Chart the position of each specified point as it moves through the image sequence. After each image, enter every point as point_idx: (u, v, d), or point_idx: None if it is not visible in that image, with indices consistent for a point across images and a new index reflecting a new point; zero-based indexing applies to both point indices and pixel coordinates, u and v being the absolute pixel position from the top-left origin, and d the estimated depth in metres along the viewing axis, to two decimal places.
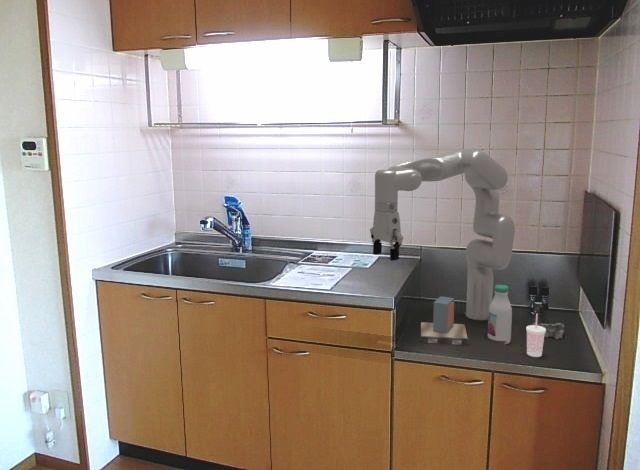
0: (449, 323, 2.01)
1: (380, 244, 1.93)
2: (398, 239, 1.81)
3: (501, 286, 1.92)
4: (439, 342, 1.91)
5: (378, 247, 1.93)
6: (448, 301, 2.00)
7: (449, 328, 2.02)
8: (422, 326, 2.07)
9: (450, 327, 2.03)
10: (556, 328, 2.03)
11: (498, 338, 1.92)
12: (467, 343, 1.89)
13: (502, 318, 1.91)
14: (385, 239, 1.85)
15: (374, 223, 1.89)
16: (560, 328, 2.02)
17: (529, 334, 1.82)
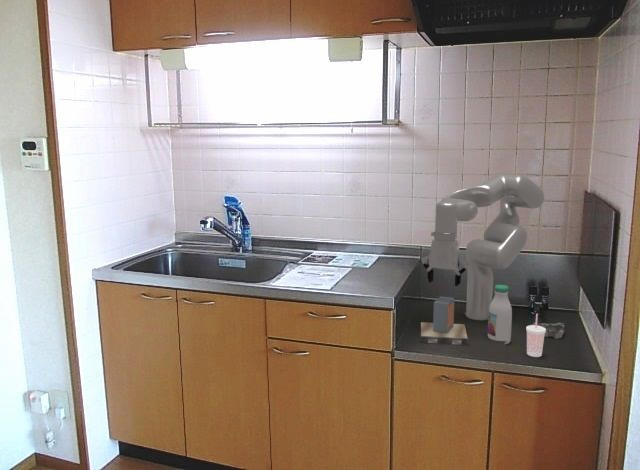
0: (449, 323, 2.01)
1: None
2: None
3: (501, 286, 1.92)
4: (439, 342, 1.91)
5: None
6: (448, 301, 2.00)
7: (449, 328, 2.02)
8: (422, 326, 2.07)
9: (450, 327, 2.03)
10: (556, 328, 2.03)
11: (498, 338, 1.92)
12: (467, 343, 1.89)
13: (502, 318, 1.91)
14: None
15: None
16: (560, 328, 2.02)
17: (529, 334, 1.82)
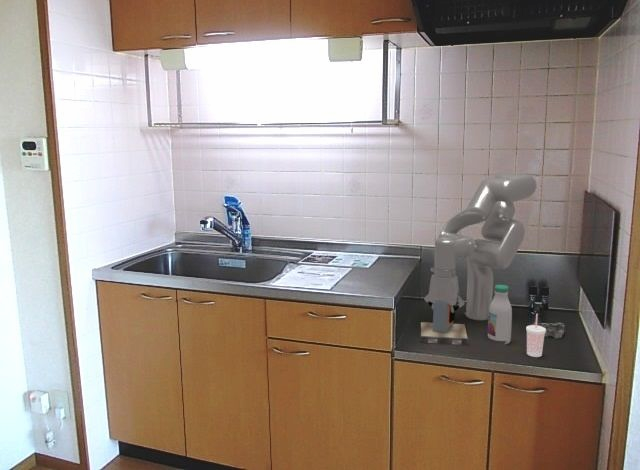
0: (449, 323, 2.01)
1: None
2: None
3: (501, 286, 1.92)
4: (439, 342, 1.91)
5: None
6: None
7: (449, 328, 2.02)
8: (422, 326, 2.07)
9: (450, 327, 2.03)
10: (557, 328, 2.03)
11: (498, 338, 1.92)
12: (467, 343, 1.89)
13: (502, 318, 1.91)
14: None
15: None
16: (561, 328, 2.02)
17: (529, 334, 1.82)
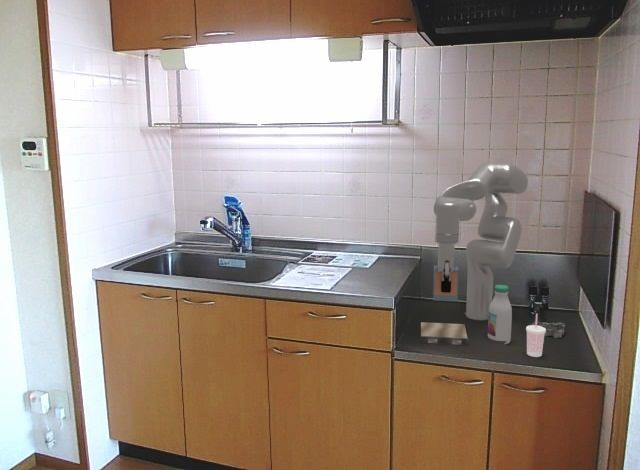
0: (441, 292, 1.90)
1: None
2: None
3: (501, 286, 1.92)
4: (439, 342, 1.91)
5: None
6: None
7: (443, 298, 1.90)
8: (422, 326, 2.07)
9: (447, 298, 1.90)
10: (557, 327, 2.03)
11: (498, 338, 1.92)
12: (467, 343, 1.89)
13: (502, 318, 1.91)
14: None
15: (453, 257, 1.86)
16: (561, 328, 2.03)
17: (529, 334, 1.82)
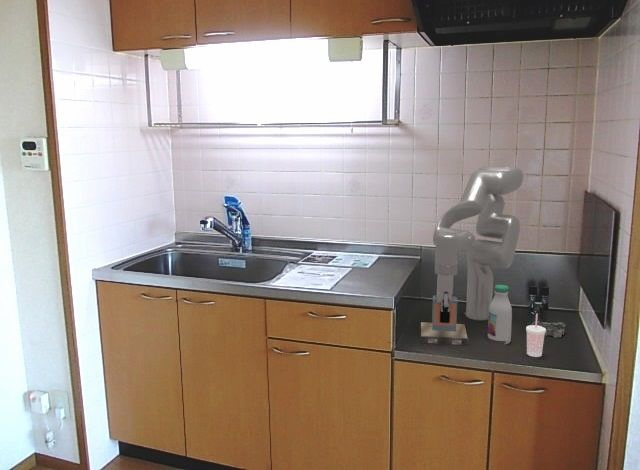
0: (440, 322, 1.92)
1: None
2: None
3: (501, 286, 1.92)
4: (439, 342, 1.91)
5: None
6: None
7: (442, 328, 1.92)
8: (422, 326, 2.07)
9: (446, 328, 1.92)
10: (557, 327, 2.03)
11: (498, 338, 1.92)
12: (467, 343, 1.89)
13: (502, 318, 1.91)
14: None
15: (452, 288, 1.88)
16: (561, 327, 2.03)
17: (529, 334, 1.82)
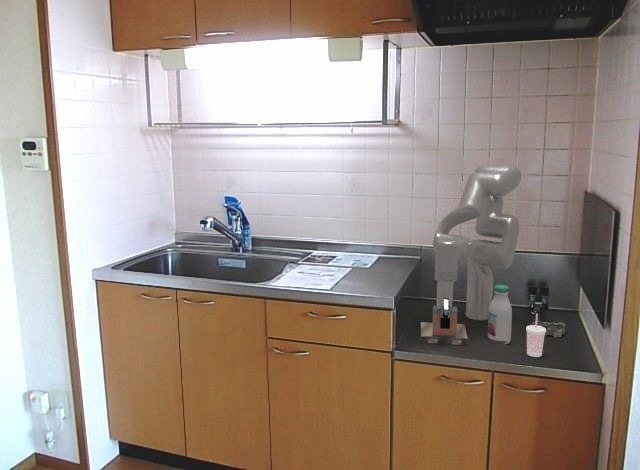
0: (440, 332, 1.93)
1: None
2: None
3: (501, 286, 1.92)
4: (439, 342, 1.91)
5: None
6: None
7: None
8: (422, 326, 2.07)
9: None
10: (558, 327, 2.03)
11: (498, 338, 1.92)
12: (467, 343, 1.89)
13: (502, 318, 1.91)
14: None
15: (452, 294, 1.88)
16: (562, 327, 2.03)
17: (529, 334, 1.82)
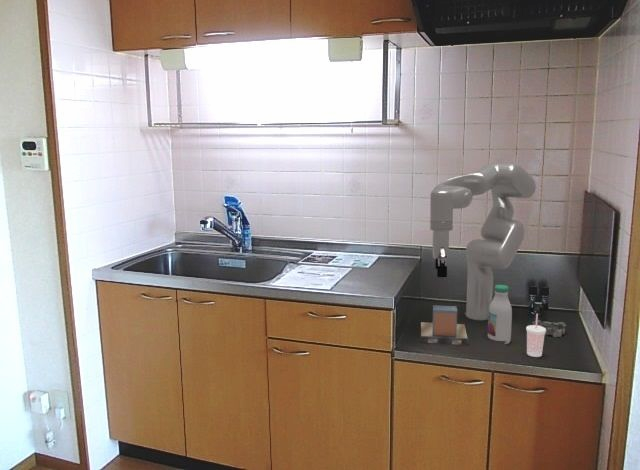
0: (440, 332, 1.93)
1: None
2: None
3: (501, 286, 1.92)
4: (439, 342, 1.91)
5: None
6: (443, 309, 1.92)
7: None
8: (422, 326, 2.07)
9: None
10: (558, 327, 2.04)
11: (498, 338, 1.92)
12: (467, 343, 1.89)
13: (502, 318, 1.91)
14: None
15: (448, 244, 1.90)
16: (562, 327, 2.03)
17: (529, 334, 1.82)
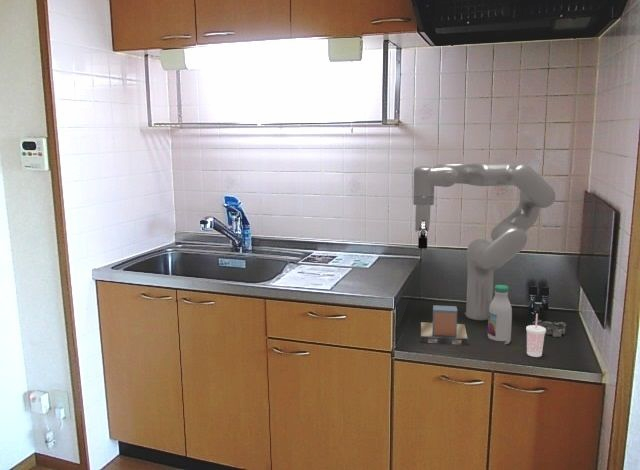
0: (440, 332, 1.93)
1: None
2: None
3: (501, 286, 1.92)
4: (439, 342, 1.91)
5: None
6: (443, 309, 1.92)
7: None
8: (422, 326, 2.07)
9: None
10: (559, 327, 2.04)
11: (498, 338, 1.92)
12: (467, 343, 1.89)
13: (502, 318, 1.91)
14: None
15: (429, 217, 2.03)
16: (562, 327, 2.03)
17: (529, 334, 1.82)
